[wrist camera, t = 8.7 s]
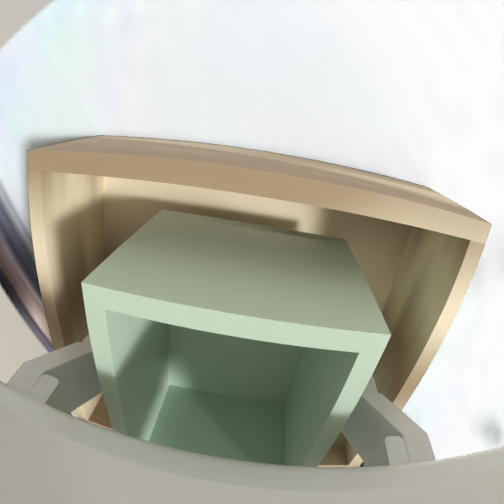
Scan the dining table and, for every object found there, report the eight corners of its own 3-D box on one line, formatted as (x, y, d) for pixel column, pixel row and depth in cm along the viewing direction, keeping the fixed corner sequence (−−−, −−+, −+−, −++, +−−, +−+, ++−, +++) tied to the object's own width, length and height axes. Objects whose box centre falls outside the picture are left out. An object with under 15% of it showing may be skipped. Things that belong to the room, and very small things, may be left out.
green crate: (293, 403, 13) (293, 500, 9) (162, 381, 13) (127, 471, 9) (345, 239, 10) (391, 334, 6) (162, 209, 10) (81, 281, 6)
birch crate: (345, 404, 16) (355, 470, 12) (113, 365, 16) (80, 423, 12) (428, 187, 11) (491, 224, 7) (100, 135, 11) (27, 150, 7)
